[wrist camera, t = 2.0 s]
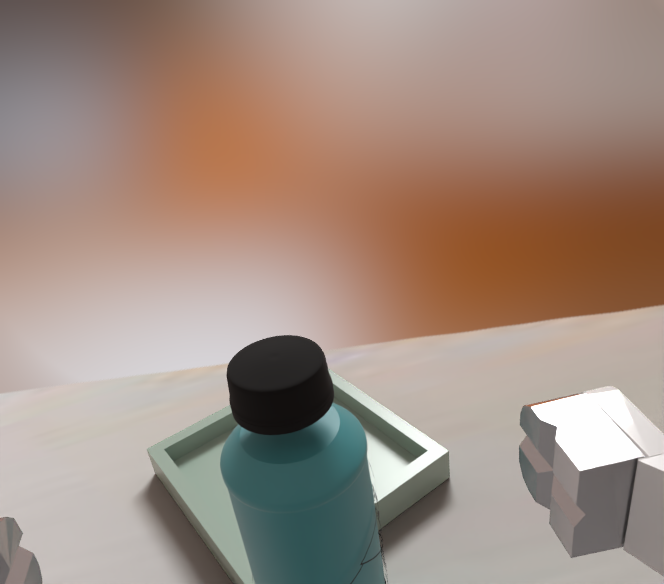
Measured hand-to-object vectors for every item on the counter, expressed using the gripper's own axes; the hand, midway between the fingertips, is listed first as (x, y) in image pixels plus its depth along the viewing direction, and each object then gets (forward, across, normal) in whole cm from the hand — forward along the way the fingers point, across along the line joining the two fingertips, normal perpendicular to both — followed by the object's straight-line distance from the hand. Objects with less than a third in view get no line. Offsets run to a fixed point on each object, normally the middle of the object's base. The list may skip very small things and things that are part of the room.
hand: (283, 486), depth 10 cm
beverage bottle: (+12, 0, +26) cm, 28 cm away
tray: (+26, 0, +25) cm, 37 cm away
